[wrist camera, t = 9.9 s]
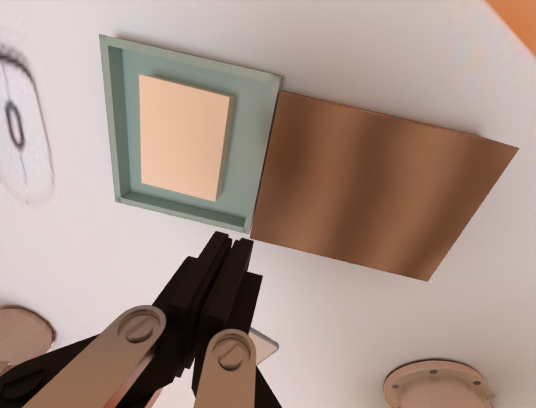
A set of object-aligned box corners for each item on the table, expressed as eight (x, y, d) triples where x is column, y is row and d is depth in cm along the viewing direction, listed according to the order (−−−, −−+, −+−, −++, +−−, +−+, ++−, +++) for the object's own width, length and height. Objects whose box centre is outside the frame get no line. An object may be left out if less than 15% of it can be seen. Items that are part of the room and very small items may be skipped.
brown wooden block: (479, 136, 19) (519, 148, 16) (409, 253, 25) (427, 281, 21) (283, 91, 20) (279, 92, 16) (257, 216, 25) (249, 238, 22)
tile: (139, 74, 18) (153, 75, 20) (141, 182, 22) (153, 175, 24) (229, 97, 18) (235, 95, 20) (215, 201, 22) (221, 193, 24)
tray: (282, 76, 19) (280, 75, 18) (252, 223, 26) (248, 234, 24) (117, 38, 20) (98, 34, 18) (128, 193, 26) (115, 201, 24)
